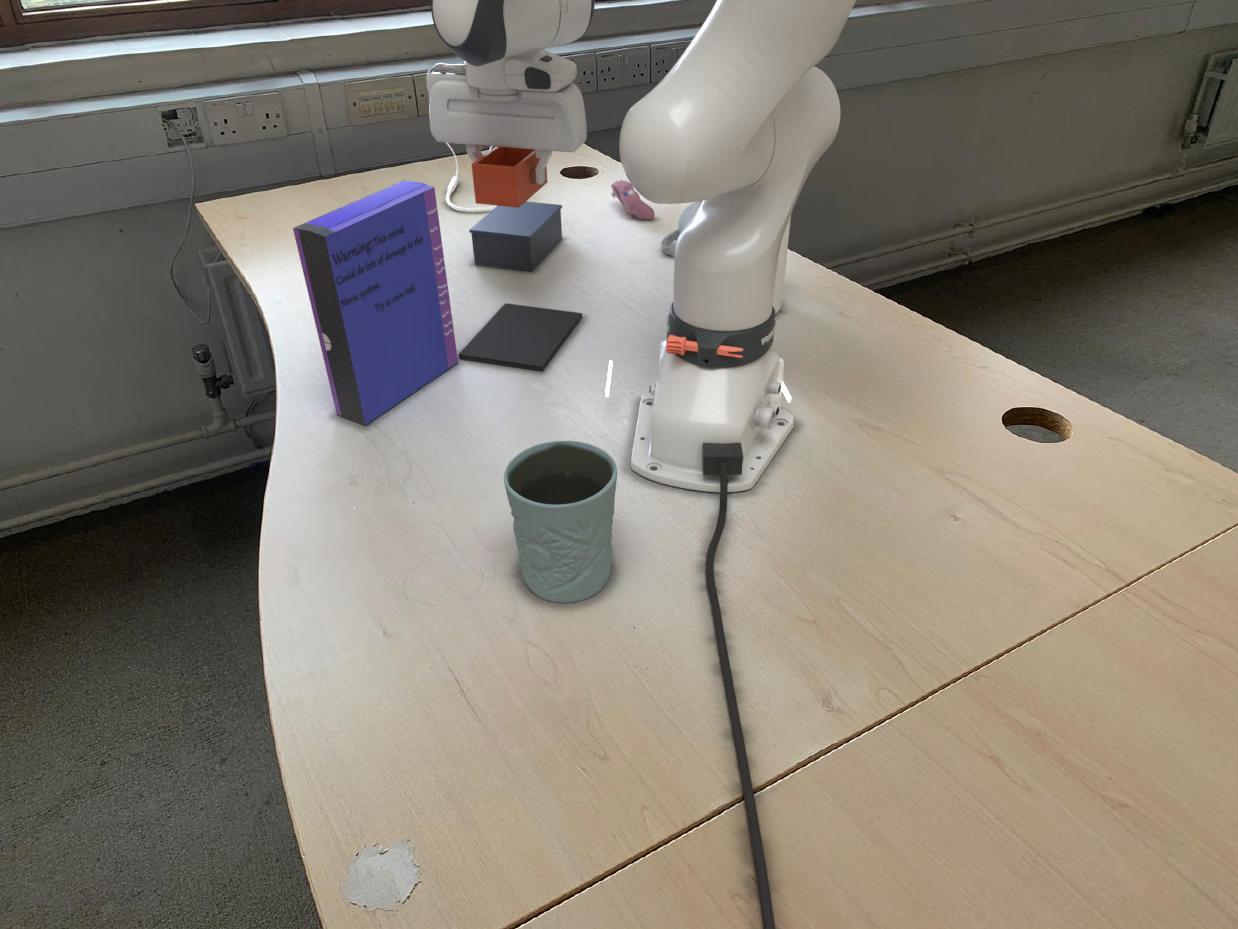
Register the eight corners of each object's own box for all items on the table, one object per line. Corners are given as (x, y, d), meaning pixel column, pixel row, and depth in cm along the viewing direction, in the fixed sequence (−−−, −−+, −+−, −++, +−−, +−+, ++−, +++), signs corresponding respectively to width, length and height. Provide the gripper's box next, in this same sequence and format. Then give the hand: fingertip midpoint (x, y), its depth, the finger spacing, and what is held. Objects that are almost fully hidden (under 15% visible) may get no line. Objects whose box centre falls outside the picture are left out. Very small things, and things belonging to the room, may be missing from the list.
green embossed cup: (525, 617, 82) (515, 515, 75) (505, 547, 90) (494, 449, 83) (631, 594, 84) (631, 493, 77) (603, 528, 92) (600, 430, 85)
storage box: (532, 272, 143) (530, 236, 140) (473, 265, 146) (469, 229, 142) (563, 238, 154) (562, 204, 151) (507, 232, 157) (504, 199, 153)
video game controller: (619, 212, 168) (602, 181, 164) (640, 199, 168) (624, 167, 164) (636, 231, 161) (619, 199, 156) (658, 217, 160) (641, 184, 156)
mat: (542, 371, 118) (542, 366, 117) (459, 359, 121) (458, 353, 120) (582, 318, 130) (582, 312, 130) (505, 307, 133) (505, 302, 133)
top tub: (519, 207, 113) (515, 167, 110) (475, 203, 115) (471, 164, 112) (547, 182, 121) (545, 144, 118) (506, 178, 122) (503, 141, 119)
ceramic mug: (718, 238, 153) (719, 194, 149) (730, 257, 147) (732, 211, 142) (657, 244, 152) (656, 199, 148) (666, 263, 146) (666, 217, 141)
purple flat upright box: (430, 354, 122) (403, 178, 108) (458, 363, 120) (434, 185, 106) (336, 415, 110) (292, 226, 96) (365, 426, 108) (324, 234, 94)
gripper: (412, 67, 109) (428, 181, 117) (571, 76, 104) (576, 195, 112) (436, 56, 114) (450, 166, 122) (589, 64, 108) (592, 178, 117)
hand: (511, 180), depth 117 cm, fingers closed on top tub, 6 cm apart
